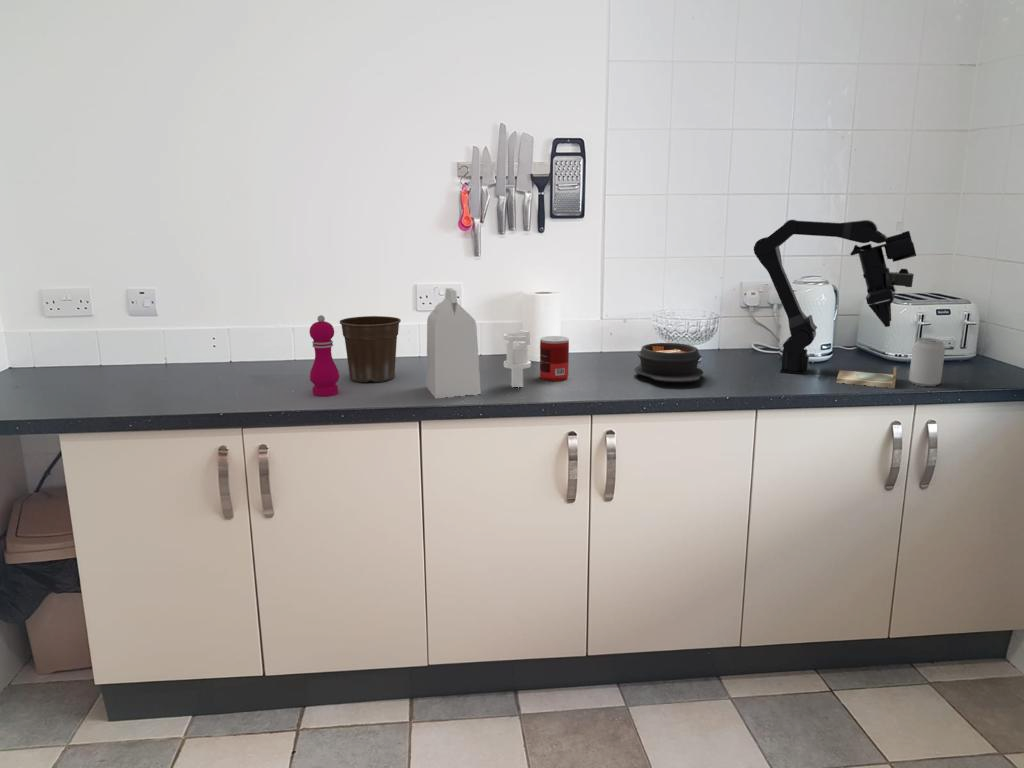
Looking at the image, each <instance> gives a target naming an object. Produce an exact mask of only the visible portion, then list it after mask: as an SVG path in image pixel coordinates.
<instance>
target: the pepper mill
mask: <svg viewBox="0 0 1024 768" xmlns="http://www.w3.org/2000/svg"><path fill="white" fill-rule="evenodd" d="M325 319H326V318H325V316H324V315H322V314H321V315H318V316H317V321H316V322H313V323H312V324H311V326H310V328H309V336H310V338H311V339H312V340H313V341H312V342H311V343H312V347H313V348H314V361H313V364H312V367H311V369H310V374H309V381H310V382H311V383H312V384H313V385H314V386H313V387H312V395H314V396H316V397H331V396H336V395H337V394H338V393H339V385H338V384H337V383H338V381H339V379H340V373H339V369H338V367H337V366H336V364H335V362H334V360H333V359H334V358H333V355H332V347H333V346H334V344H333V343H334V341H333V340H332V339H333V338H334V336H335V329H334V326H333V324H332V323H330V322H328V321H325Z"/></svg>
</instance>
